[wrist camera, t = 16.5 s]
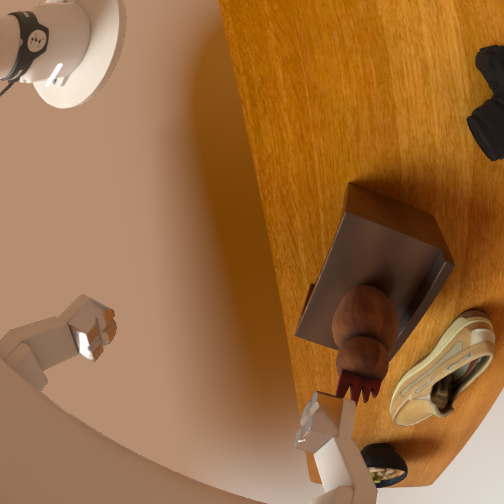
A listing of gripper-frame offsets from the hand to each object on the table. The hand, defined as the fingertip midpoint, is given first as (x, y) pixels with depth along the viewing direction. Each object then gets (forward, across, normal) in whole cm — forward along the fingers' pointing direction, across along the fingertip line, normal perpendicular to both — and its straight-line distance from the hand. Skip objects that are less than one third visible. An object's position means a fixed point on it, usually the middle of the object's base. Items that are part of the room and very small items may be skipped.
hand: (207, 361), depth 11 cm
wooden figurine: (+22, -11, +11) cm, 27 cm away
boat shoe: (+31, -32, +26) cm, 52 cm away
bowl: (+30, -40, +62) cm, 80 cm away
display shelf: (+31, -11, +11) cm, 35 cm away
